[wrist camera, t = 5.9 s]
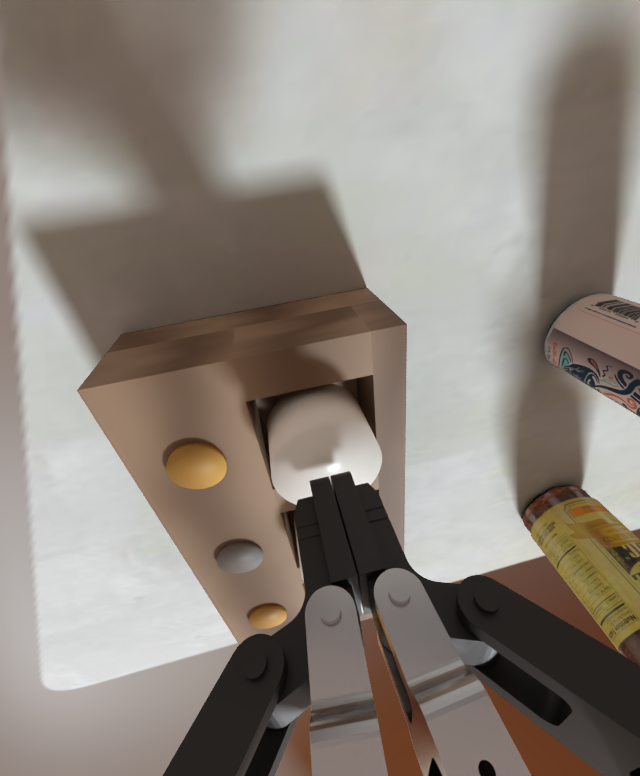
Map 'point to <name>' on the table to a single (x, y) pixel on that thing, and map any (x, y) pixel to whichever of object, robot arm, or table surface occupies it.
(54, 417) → the table surface
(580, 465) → the table surface
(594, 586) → the sauce bottle
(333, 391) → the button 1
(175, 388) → the button board
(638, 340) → the beer can
